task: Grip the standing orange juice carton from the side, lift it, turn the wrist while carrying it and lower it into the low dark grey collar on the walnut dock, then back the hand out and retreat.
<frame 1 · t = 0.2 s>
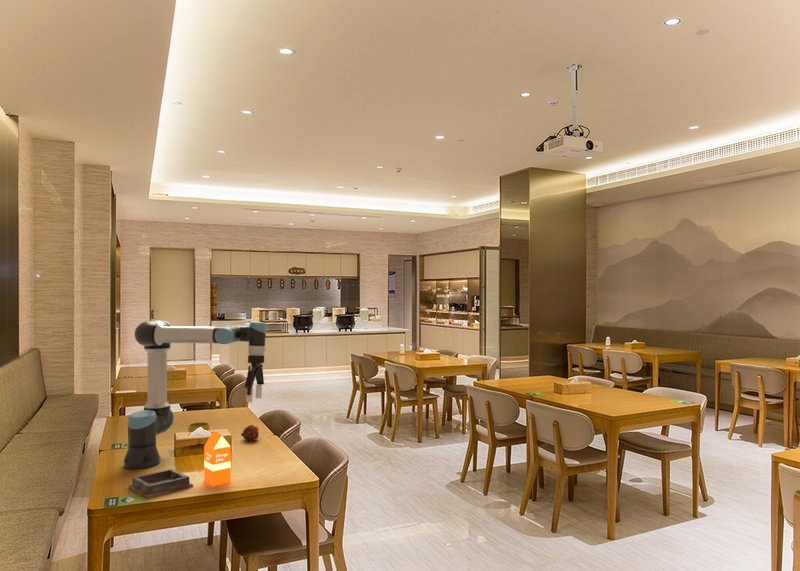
hand: (253, 400, 269), 27 cm above the table, tool pointing down, fingers open, 13 cm apart
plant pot: (198, 443, 297), on the table
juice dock: (160, 487, 228), on the table
orange juice: (217, 482, 235), on the table
brown bumpy lump: (250, 440, 302), on the table
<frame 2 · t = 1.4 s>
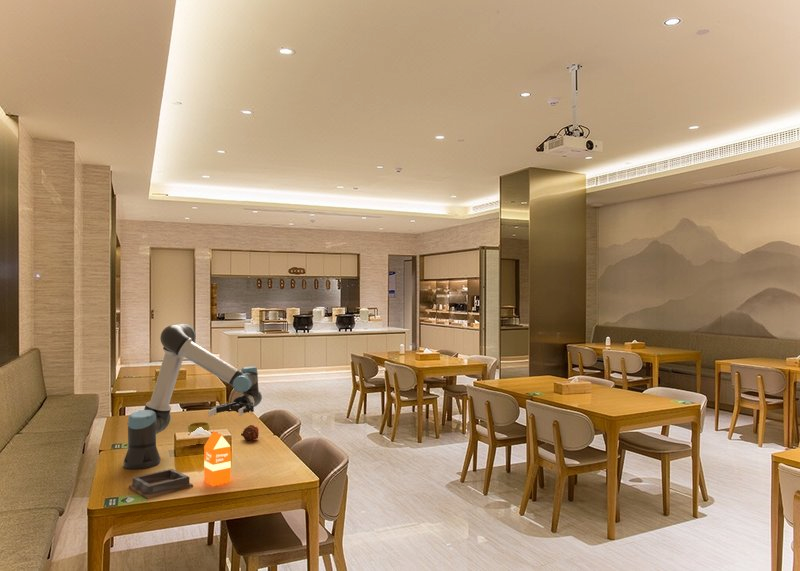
hand: (224, 413, 245), 26 cm above the table, tool horizontal, fingers open, 13 cm apart
nothing on the table moved.
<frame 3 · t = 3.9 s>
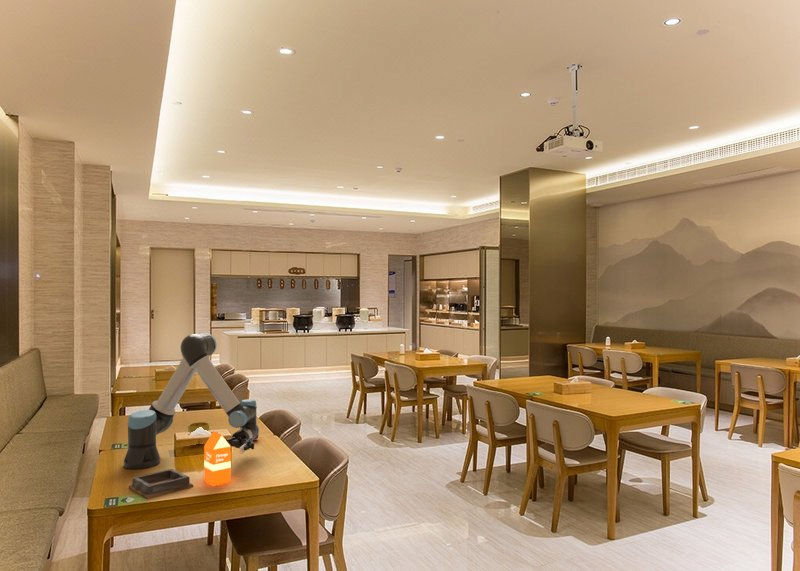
hand: (224, 450, 241), 11 cm above the table, tool horizontal, fingers open, 13 cm apart
nothing on the table moved.
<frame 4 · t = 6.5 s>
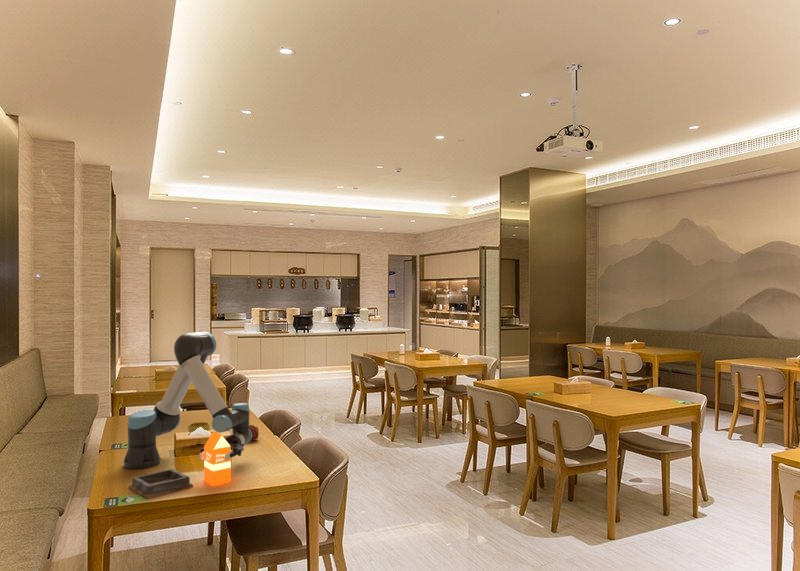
hand: (213, 457, 231), 11 cm above the table, tool horizontal, fingers closed on orange juice, 10 cm apart
orange juice: (217, 482, 235), on the table, touching gripper
everything else where it was.
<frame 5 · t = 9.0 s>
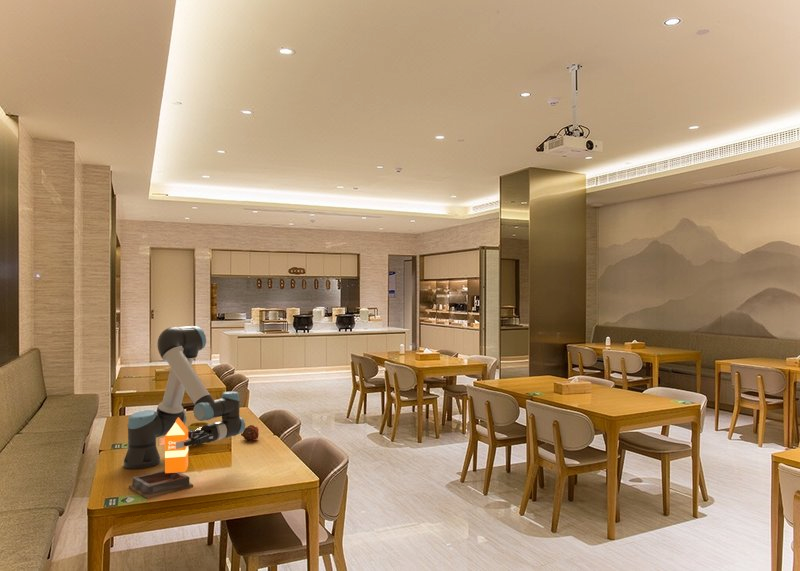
hand: (167, 443, 226), 18 cm above the table, tool horizontal, fingers closed on orange juice, 10 cm apart
orange juice: (177, 469, 229), point 7 cm above the table, touching gripper
everything else where it was.
when the fingers open (13 cm above the table, at t = 11.6 s): orange juice stays where it is, resting on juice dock.
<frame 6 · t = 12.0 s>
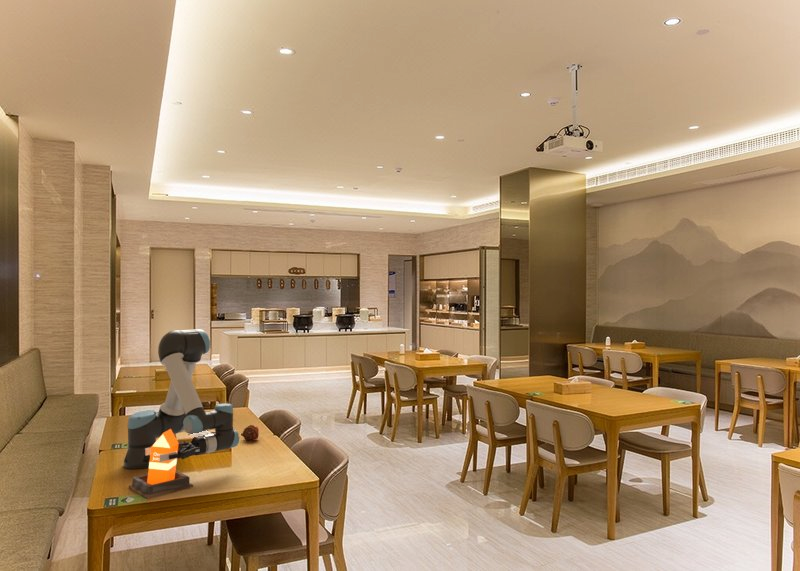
hand: (152, 455, 226), 13 cm above the table, tool horizontal, fingers open, 13 cm apart
orange juice: (161, 482, 228), point 2 cm above the table, touching gripper, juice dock
everything else where it was.
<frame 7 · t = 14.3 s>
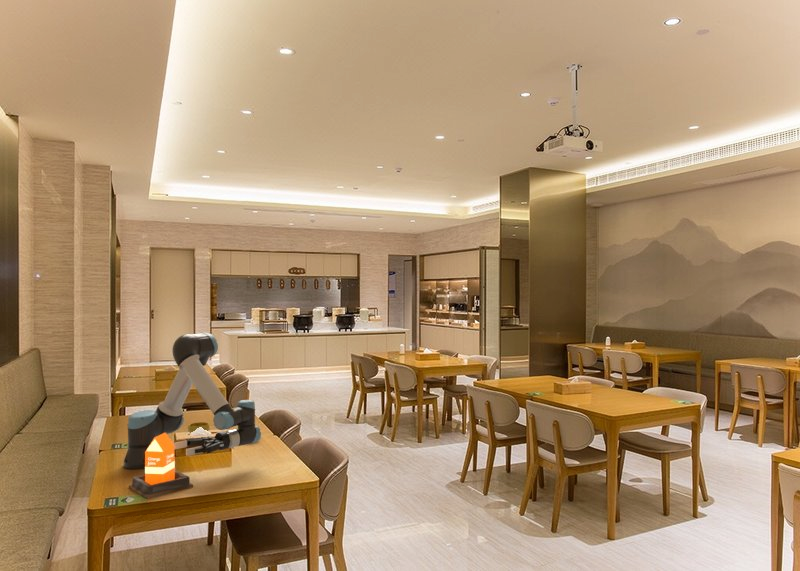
hand: (178, 449, 233), 14 cm above the table, tool horizontal, fingers open, 13 cm apart
orange juice: (160, 485, 227), point 1 cm above the table, touching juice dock
everything else where it was.
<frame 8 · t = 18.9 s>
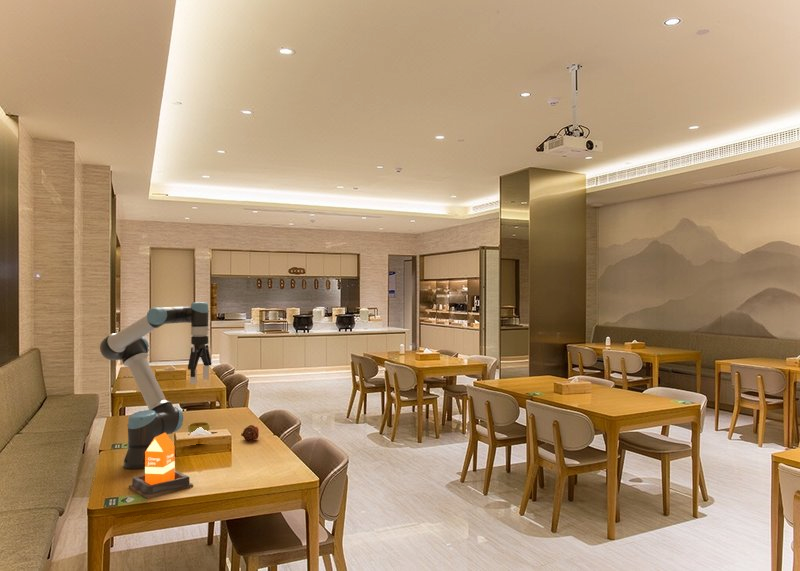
hand: (200, 381, 264), 37 cm above the table, tool pointing down, fingers open, 13 cm apart
nothing on the table moved.
at the end: orange juice inside the target area on the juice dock (0.7 cm from its centre), point 0.8 cm above the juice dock's base; orange juice tilted 0°; the gripper is holding nothing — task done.
